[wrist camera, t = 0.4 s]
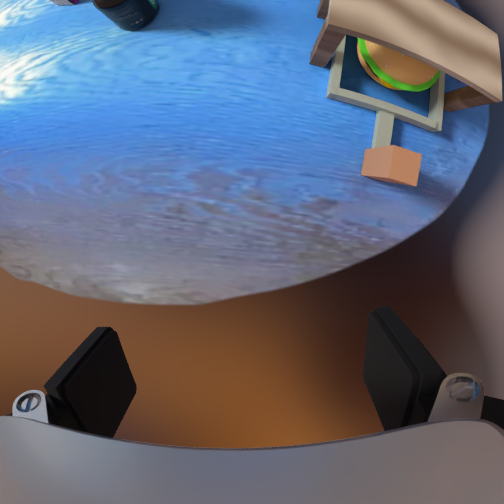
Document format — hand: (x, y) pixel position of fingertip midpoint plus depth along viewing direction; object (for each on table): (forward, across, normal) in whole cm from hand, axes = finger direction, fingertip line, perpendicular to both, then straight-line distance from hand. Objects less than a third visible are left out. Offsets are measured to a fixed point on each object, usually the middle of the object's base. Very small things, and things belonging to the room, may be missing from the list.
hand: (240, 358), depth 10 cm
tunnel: (+29, -21, -22) cm, 42 cm away
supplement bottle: (+29, +14, -33) cm, 46 cm away
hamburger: (+29, -20, -21) cm, 41 cm away
